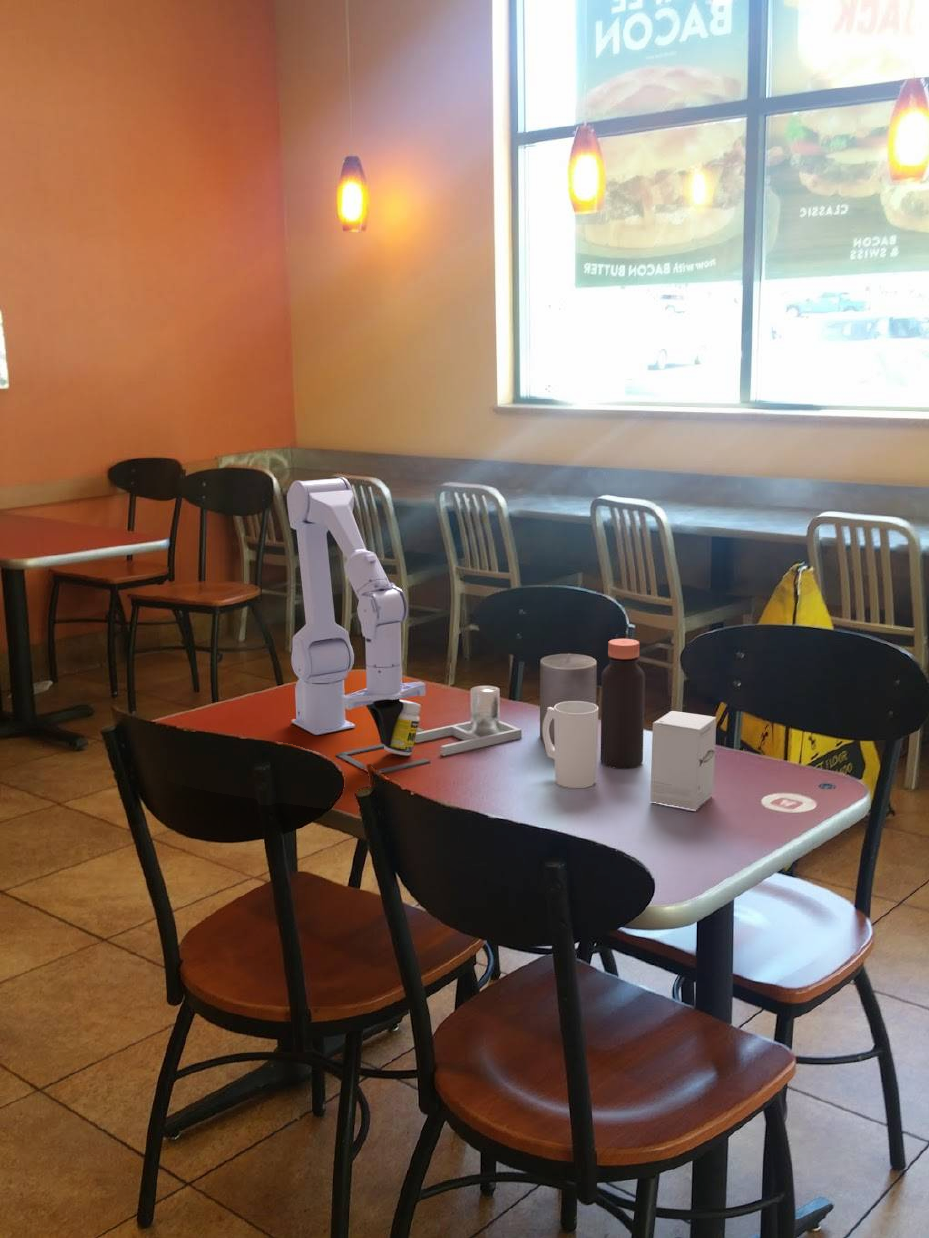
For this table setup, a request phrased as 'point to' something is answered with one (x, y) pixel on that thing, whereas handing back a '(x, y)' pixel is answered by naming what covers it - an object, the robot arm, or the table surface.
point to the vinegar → (622, 706)
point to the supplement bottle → (405, 729)
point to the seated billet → (485, 710)
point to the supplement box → (683, 759)
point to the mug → (573, 742)
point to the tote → (346, 754)
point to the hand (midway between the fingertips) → (385, 743)
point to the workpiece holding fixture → (468, 737)
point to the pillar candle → (565, 683)
